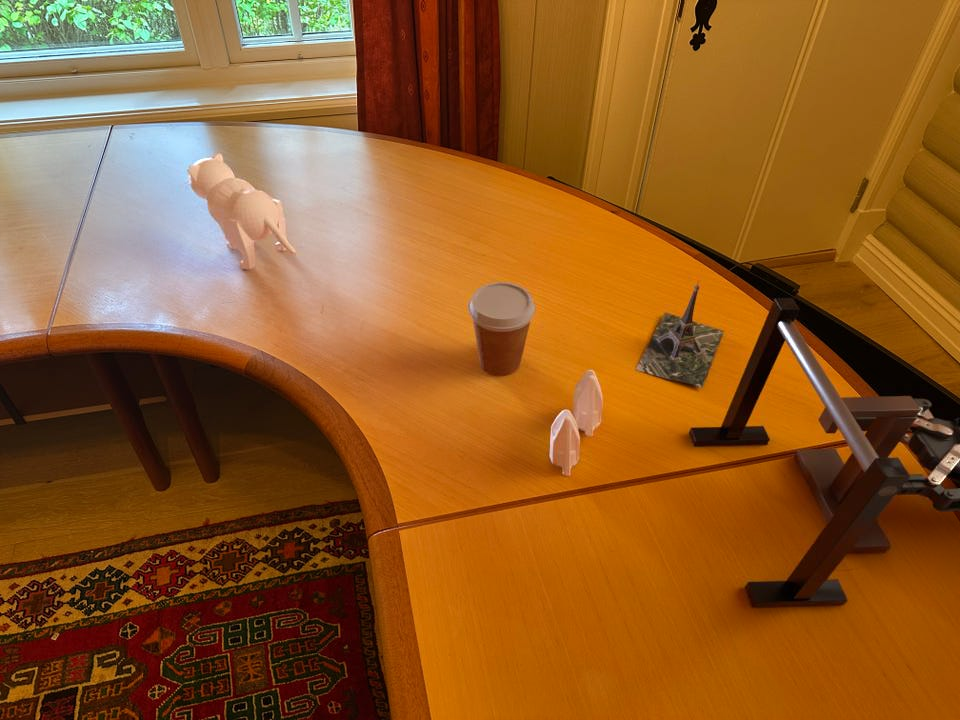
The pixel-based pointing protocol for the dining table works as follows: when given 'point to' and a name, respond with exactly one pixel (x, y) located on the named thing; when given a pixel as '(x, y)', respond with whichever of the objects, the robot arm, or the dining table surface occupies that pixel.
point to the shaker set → (576, 422)
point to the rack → (880, 473)
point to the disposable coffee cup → (501, 325)
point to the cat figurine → (238, 208)
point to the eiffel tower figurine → (681, 348)
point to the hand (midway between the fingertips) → (866, 452)
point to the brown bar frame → (837, 478)
